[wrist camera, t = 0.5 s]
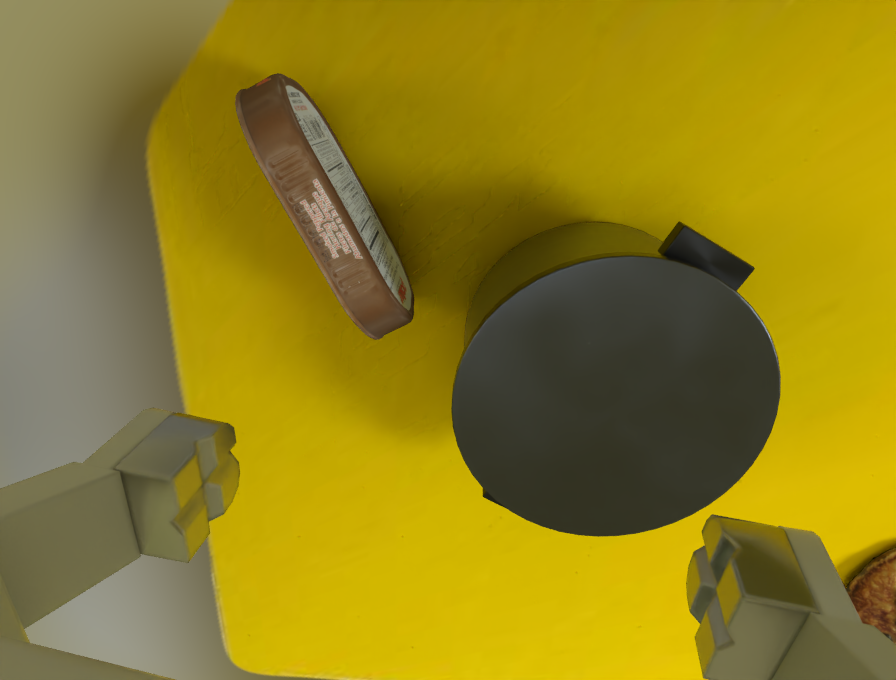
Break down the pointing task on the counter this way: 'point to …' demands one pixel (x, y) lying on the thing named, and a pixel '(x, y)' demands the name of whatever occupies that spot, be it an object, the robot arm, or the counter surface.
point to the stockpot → (613, 379)
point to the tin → (326, 203)
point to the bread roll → (877, 594)
